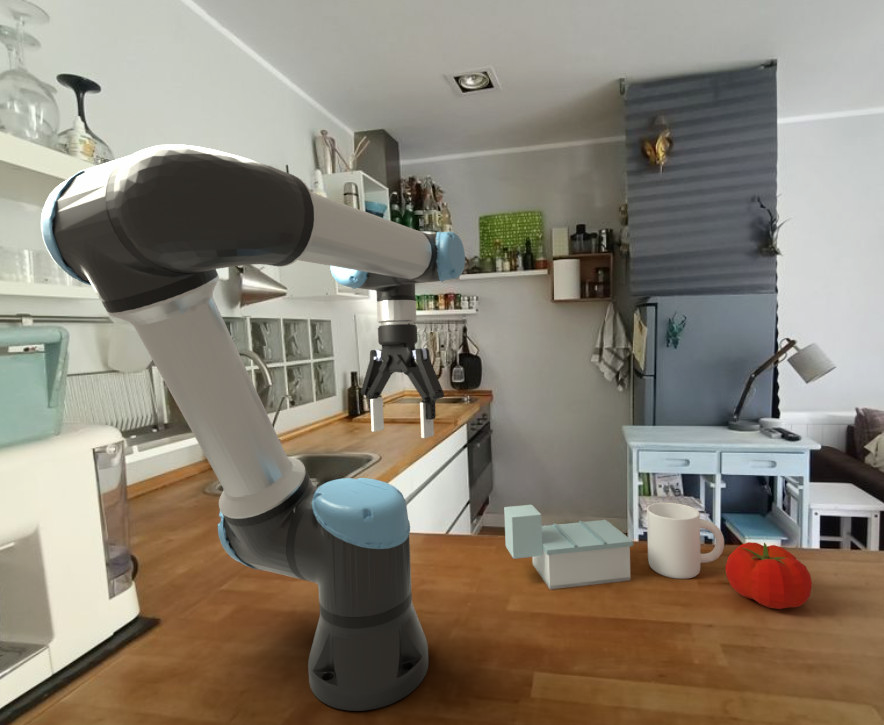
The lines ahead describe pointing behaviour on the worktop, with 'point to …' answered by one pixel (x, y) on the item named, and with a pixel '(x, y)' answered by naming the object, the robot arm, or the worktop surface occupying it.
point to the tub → (584, 567)
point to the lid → (556, 534)
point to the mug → (678, 540)
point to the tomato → (768, 575)
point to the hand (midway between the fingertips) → (401, 433)
